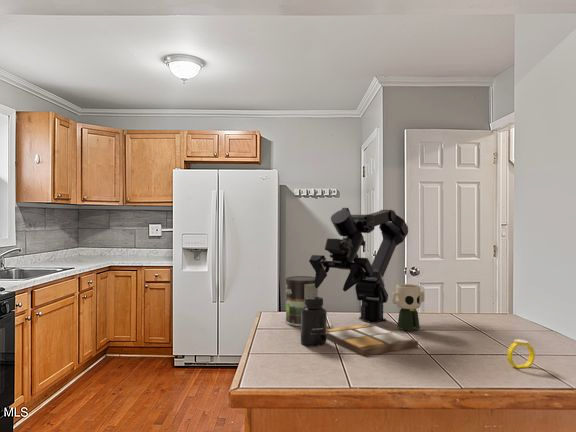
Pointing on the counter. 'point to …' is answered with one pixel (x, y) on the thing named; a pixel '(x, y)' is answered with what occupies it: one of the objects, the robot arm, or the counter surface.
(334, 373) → the counter surface
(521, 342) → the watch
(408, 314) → the character mug
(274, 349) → the counter surface
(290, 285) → the coffee can
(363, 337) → the wooden tray
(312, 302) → the supplement bottle
